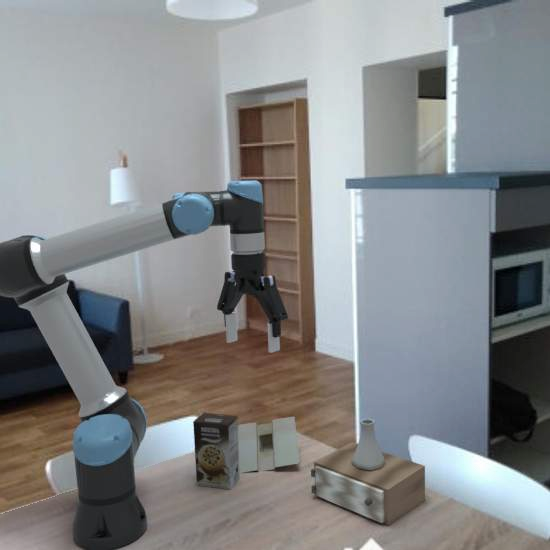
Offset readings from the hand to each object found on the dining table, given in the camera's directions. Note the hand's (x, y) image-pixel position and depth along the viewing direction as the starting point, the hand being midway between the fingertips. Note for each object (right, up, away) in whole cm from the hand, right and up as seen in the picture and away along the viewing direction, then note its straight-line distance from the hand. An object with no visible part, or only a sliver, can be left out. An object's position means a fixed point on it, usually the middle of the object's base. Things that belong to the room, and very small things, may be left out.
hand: (252, 346), depth 145 cm
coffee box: (-9, -34, +11) cm, 37 cm away
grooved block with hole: (+3, -32, +21) cm, 39 cm away
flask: (+26, -26, 0) cm, 37 cm away
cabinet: (+26, -34, +1) cm, 43 cm away
